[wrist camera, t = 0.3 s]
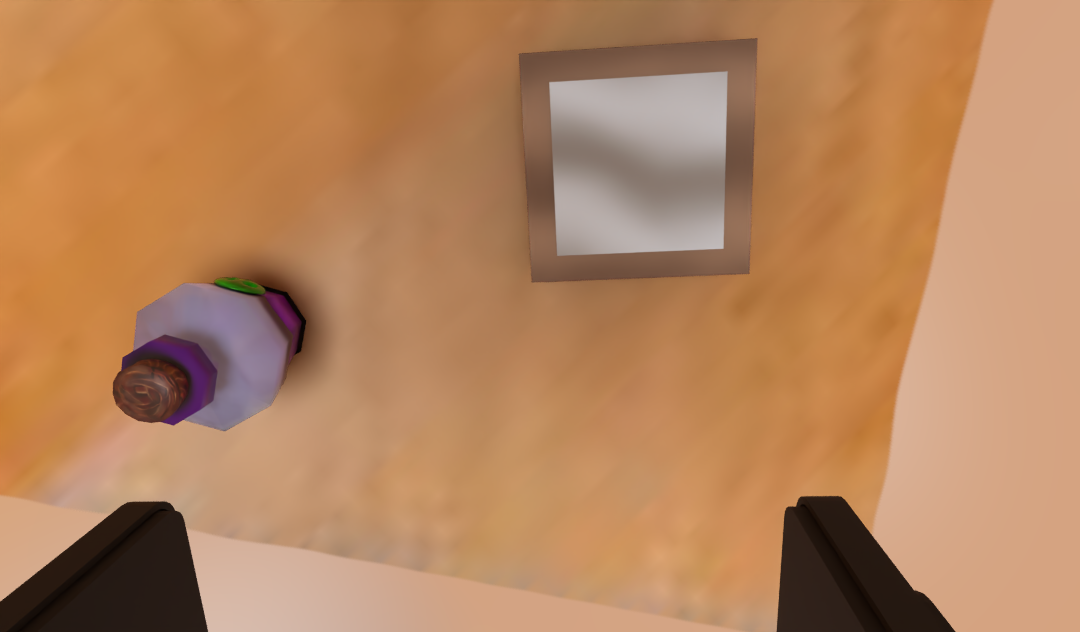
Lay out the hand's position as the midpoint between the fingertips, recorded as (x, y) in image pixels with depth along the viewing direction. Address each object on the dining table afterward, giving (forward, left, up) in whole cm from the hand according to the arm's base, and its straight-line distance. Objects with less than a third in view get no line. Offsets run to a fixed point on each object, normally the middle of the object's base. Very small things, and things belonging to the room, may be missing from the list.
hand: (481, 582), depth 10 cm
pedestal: (-5, +5, -30) cm, 31 cm away
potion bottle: (+4, -19, -31) cm, 36 cm away
